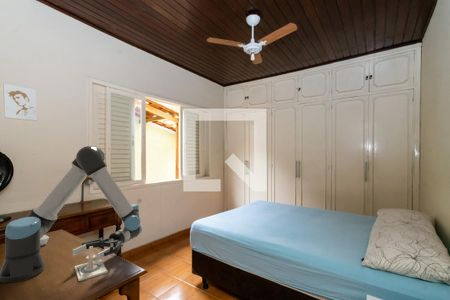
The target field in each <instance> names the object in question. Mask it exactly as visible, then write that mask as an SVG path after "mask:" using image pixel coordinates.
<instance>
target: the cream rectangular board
mask: <svg viewBox="0 0 450 300" xmlns="http://www.w3.org/2000/svg"><path fill="white" fill-rule="evenodd" d="M94 262H95V264H96V265H97V268H96V269H94V270H92V271H85V270H84V268H85V267H86V266H88V265H87V263H88V262H86V263H81V264H77V265H74V271H75V274H76V277H77V280H78V282H81V281H85V280H88V279H91V278H95V277H99V276H101V275H104V274H108V272H109V271H108V269H107V267H106V265H105V264H104V262H103V261H102V259H100V260H97V259H96V260H94Z"/></svg>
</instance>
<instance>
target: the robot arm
mask: <svg viewBox="0 0 450 300" xmlns="http://www.w3.org/2000/svg"><path fill="white" fill-rule="evenodd" d="M107 168H108V166H107V164H106V162H105V153H104V151H103V149H101V148H99V147H98V146H93V145H87V146H83V147H81V148H80V149H79V150H78V151H77V152H76V155H75V158H74V159H73V160H72V162H71V168H70V169H69V170H68V172H67V173H66V174H65V175H64V177H63V178H62V179H61V180H60V181H59V182H58V184H57V185H56V186H55V187H54V188H53V190H51V192H50V193H49V194H48V195H47V197H46V198H45V199H44V201H42V203H40V205H39V206H35V207H33V208H32V209H31V210H30V212H29V213H28V214H27V215H26V216H24V217H20V218H17V219H14V220H12V221H10V222H9V223H7V224H6V227H5V232H4V235H5V237H4V261H3V263H2V266H1V268H0V283H2V284H8V283H9V284H10V283H18V282H22V281H26V280H28V279H31V278H34V277H35V276H38V275H39V274H41V273H42V272H43V271H44V270H45V261H44V259H43V257H42V254H41V245H40V238H41V237H42V236H43V235H46V233H48V232H49V230H50V229H51V228H52V226H53V224H54V223H55V222H56V221H57V220H58V214H59V212H60V211H61V210H62V208H63V207H64V206H65V205H66V204H67V202H68V201H69V200H70V198H71V197H72V196H73V195H74V193H76V191H77V190H78V189H79V188H80V186H81V184H83V182H84V181H85V180H86V179H87V177H88V178H91V179H92V180H93V182H95V185H96V186H97V187H98V189H99V190H100V192H101V193H102V194H103V196H104V197H105V198H106V200H107V201H108V202H109V205H111V207H112V208H113V209H114V211H115V213H116V214H117V216H118V217H119V218H120V219H121V221H122V223H123V225H124V228H121V229H119V230H117V231H114V232H113V233H112V232H111V234H109V236H108V237H107V238H104V237H100V238H96V239H93V240H89V241H85V242H82V243H81V246H78V247H77V248H73V249H72V255H71V256H72V257H76V256H77V255H79V254H81V253H83V252H86V250H89V247H90V246H93V249H96V248H105V247H106V249H104V250H102V251H100V252H98V253H96V260H100V259H101V260H102V259H103V258H105V257H107V256H109V255H113V254H114V255H116V254H118V253H119V251H120V249H121V248H122V247H123V246H124V244H125V243H127V242H130V241H131V240H133V239H135V238H136V237H138V236H139V235H141V233H142V230H143V227H142V225H141V218H140V214H139V210H140V209H139V205H138V204H136V203H130V202H129V200H128V198H127V197H126V196H125V194H124V193H123V192H122V190H121V189H120V187H119V186H118V184H117V182H116V181H115V179H114V178H113V177H112V175H111V174H110V172H109V171H108V170H107Z"/></svg>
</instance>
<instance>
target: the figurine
mask: <svg viewBox="0 0 450 300" xmlns="http://www.w3.org/2000/svg"><path fill="white" fill-rule="evenodd" d="M49 239H50V237H49V236H48V235H47V234H44V235H43V236H42V237H41V238H40V246H44V245H46V244H47V242H48V241H49Z"/></svg>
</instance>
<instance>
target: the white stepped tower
mask: <svg viewBox="0 0 450 300" xmlns="http://www.w3.org/2000/svg"><path fill="white" fill-rule="evenodd" d="M96 257H97V254H94V248H93V246H90V247H89V249H88V255H87V256H86V257H85V259H87V262H86V263H87V265H88V266H86V267H85V268H84V270H85V271H92V270H94V269H96V268H97V265H96V264H95V262H94V261H95V260H94V258H96Z"/></svg>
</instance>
